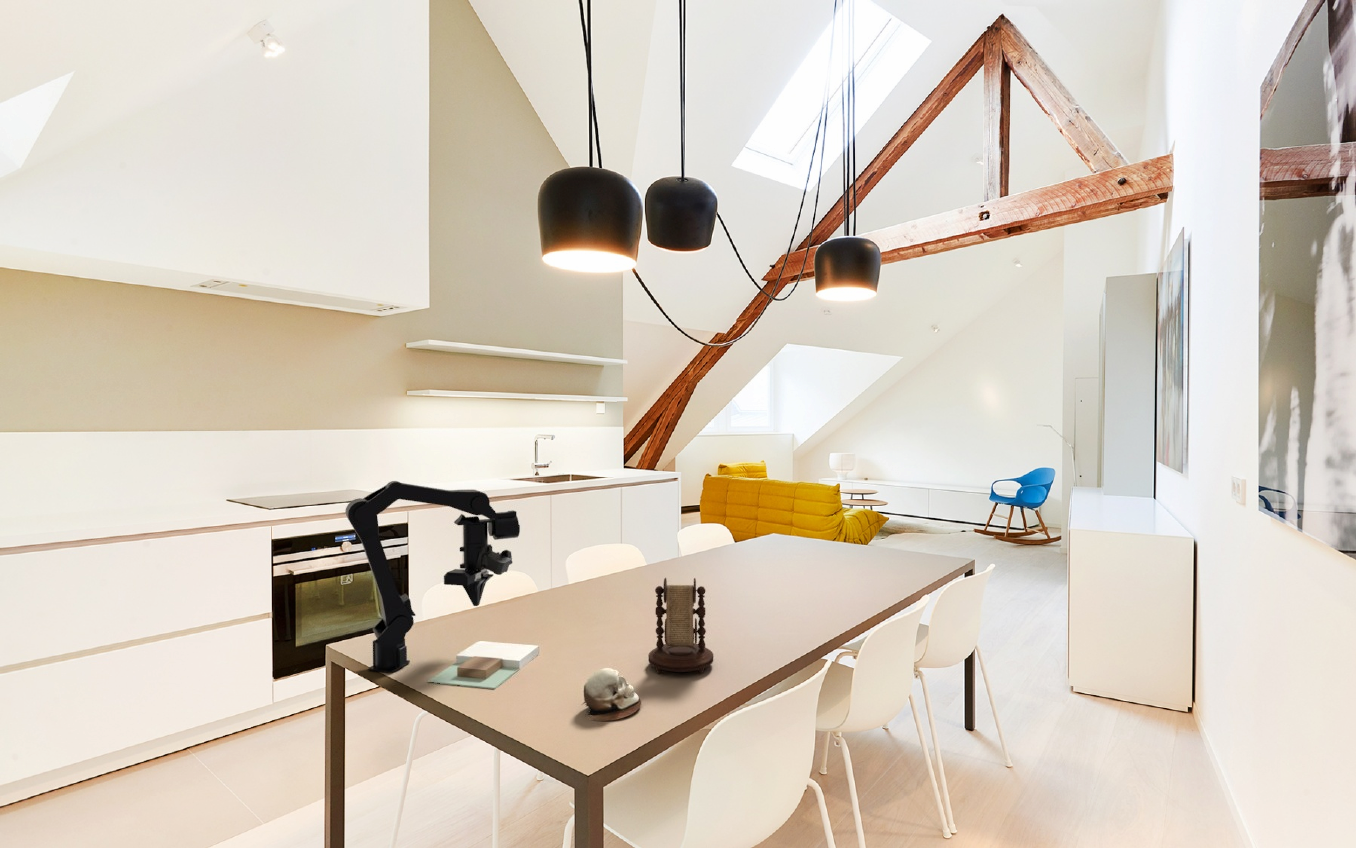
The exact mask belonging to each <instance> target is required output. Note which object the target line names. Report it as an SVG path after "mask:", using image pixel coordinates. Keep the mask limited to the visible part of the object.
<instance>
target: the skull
mask: <svg viewBox="0 0 1356 848" xmlns="http://www.w3.org/2000/svg"><path fill="white" fill-rule="evenodd" d="M619 673H620V672H619V671H618V670H616V669H613V668H611V667H603V668H600V669H599V670H597V671H596V672H594V673H593V674H592V675H590V676H589V678H588V679H587V680H586V682H585V683H584V686H583V700H584V701H583V703H582V705H585V707H588V709H589V711H587V715H585V716H586V717H587V719H588V720H591V721H598V722H606V721H608V722H609V721H615V720H619V719H623V718H625V717H628V716H629V717H630V716H631V715H633V714H634V713H635V712H637V711H638V710H639V709H640V708H641V705H642V700H641V699H640V697H639V695H638V694H637V693H636V692H635V691H634V687H633V685H631V684H629V681H628V680H626V677H624V676H623V675H620V674H619Z"/></svg>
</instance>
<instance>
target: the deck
mask: <svg viewBox="0 0 1356 848" xmlns="http://www.w3.org/2000/svg"><path fill="white" fill-rule="evenodd" d="M539 655H540V645H535V644H520V643H507V642H496V641H482V640H481V641H480V640H479V641H477V642H475V643H473V644H472V645H470V646H469V647H467V648H465V649H464V650H462V651H461V652H458V653H457V654H456V655H455V663H461V664H463V663H465V662H466V661H468V660H469V659H471V658H472V657H474V656H478V657H490V658H502V667H507V668H518V669H519V670H518V671H520V670H521V669H523V668H524V667H525V666H526V665H527V664H528V663H530V662H531V661H532V660H534V659H535V658H536V657H537V656H539Z"/></svg>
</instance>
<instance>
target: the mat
mask: <svg viewBox="0 0 1356 848" xmlns="http://www.w3.org/2000/svg"><path fill="white" fill-rule="evenodd" d="M460 665H462V664H461V663H456V662H455V663H453V664H452V665H450V666H449V667H447V668H445V669H444V670H442V671H441V672H440V673H438V674H436V675H435V676H433V677H432V678H430V679H429V680H427V682H434V683H433V684H437V683H440V684H439V685H447V686H448V685H449V686H457V685H460V686H459V687H469V688H479V689H480V688H481V689H489V690H496V689H497V688H498V687H500V686H501V685H502V684H503V683H504V682H506V681H507V680H508V679H510V678H511V677H512V676H513V675H515V674H516V673H517V672H518V671H520V670H519V669H518V668H507V667H502V668H501V669H499V670H498V671H497V672H495V673H494V674H493V675H491V676H490V677H489V678H487V679H478V678H467V677H457V667H459V666H460Z"/></svg>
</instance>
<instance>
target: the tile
mask: <svg viewBox="0 0 1356 848" xmlns="http://www.w3.org/2000/svg"><path fill="white" fill-rule="evenodd" d="M501 668H502V658H490V657H478V656H474V657H472V658H471V659H469V660H468V661H466V662H465V663H463V664H462V665H460V666H459V667H457V677H467V678H478V679H487V678H489V677H490V676H491V675H493V674H494V673H495V672H497V671H498V670H499V669H501Z"/></svg>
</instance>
